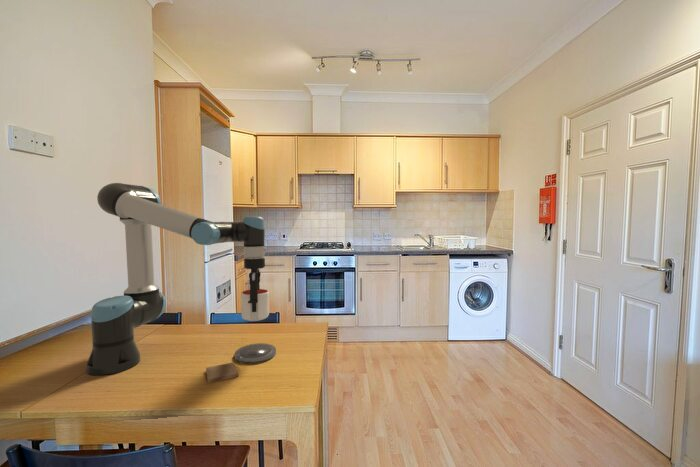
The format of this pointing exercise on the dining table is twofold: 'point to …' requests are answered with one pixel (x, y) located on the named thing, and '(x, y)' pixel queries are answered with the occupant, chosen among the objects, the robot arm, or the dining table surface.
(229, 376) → the oak coaster
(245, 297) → the cup
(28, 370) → the dining table surface
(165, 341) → the dining table surface
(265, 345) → the grey plate
